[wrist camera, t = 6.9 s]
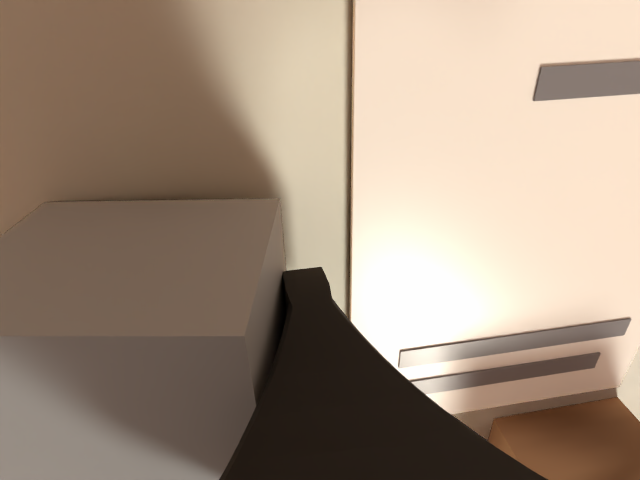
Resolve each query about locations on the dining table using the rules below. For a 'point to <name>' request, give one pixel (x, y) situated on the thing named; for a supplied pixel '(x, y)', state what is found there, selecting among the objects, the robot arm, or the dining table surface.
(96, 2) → the dining table surface
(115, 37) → the dining table surface
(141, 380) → the slate block
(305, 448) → the robot arm
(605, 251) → the flyer
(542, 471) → the walnut cube
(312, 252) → the dining table surface
